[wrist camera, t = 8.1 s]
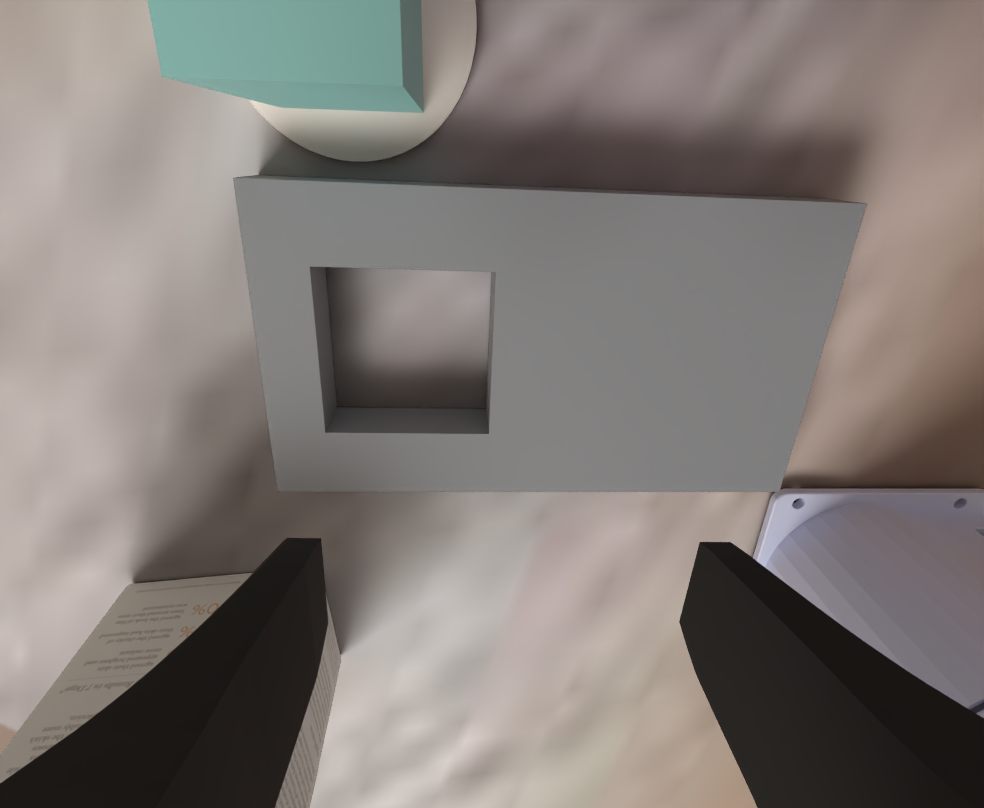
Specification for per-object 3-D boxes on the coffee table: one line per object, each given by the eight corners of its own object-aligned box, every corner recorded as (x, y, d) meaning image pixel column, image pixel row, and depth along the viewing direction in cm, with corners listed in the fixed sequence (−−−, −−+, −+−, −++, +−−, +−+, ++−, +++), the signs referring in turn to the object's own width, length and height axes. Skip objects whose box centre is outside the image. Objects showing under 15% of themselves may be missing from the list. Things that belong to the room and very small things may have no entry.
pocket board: (825, 198, 18) (866, 203, 16) (752, 463, 22) (779, 492, 20) (257, 175, 17) (233, 177, 15) (293, 462, 21) (277, 491, 19)
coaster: (480, -133, 14) (481, -141, 14) (473, 166, 17) (473, 166, 17) (195, -158, 13) (187, -166, 13) (237, 155, 16) (232, 156, 16)
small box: (168, 674, 25) (-11, 998, 15) (127, 578, 23) (-114, 891, 13) (345, 658, 25) (279, 968, 16) (323, 562, 23) (229, 856, 13)
